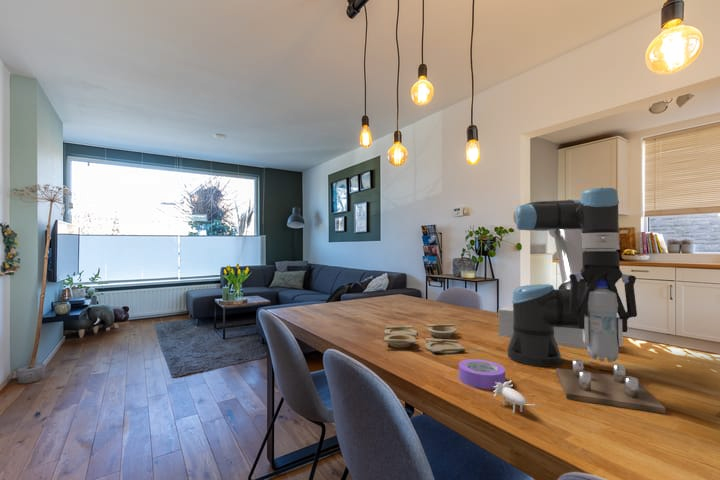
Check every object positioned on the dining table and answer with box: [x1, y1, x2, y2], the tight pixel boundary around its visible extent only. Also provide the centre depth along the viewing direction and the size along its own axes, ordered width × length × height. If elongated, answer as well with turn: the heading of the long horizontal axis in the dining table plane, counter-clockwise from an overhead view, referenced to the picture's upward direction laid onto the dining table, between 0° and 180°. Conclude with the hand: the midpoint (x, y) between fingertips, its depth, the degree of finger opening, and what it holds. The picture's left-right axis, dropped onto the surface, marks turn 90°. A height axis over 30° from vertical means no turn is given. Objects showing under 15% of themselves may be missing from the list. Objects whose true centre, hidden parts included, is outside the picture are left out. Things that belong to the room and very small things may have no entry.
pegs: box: [571, 358, 639, 398], centre depth 83 cm, size 11×11×4 cm
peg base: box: [555, 367, 666, 415], centre depth 83 cm, size 18×18×1 cm
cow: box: [492, 379, 537, 414], centre depth 73 cm, size 12×5×5 cm, turn 13°
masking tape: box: [458, 358, 506, 390], centre depth 90 cm, size 12×12×4 cm
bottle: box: [586, 280, 619, 363], centre depth 83 cm, size 7×7×20 cm
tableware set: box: [382, 323, 467, 354], centre depth 128 cm, size 35×29×4 cm
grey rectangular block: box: [497, 305, 587, 350], centre depth 130 cm, size 32×11×11 cm, turn 53°
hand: (602, 343), depth 83 cm, fingers closed on bottle, 6 cm apart
